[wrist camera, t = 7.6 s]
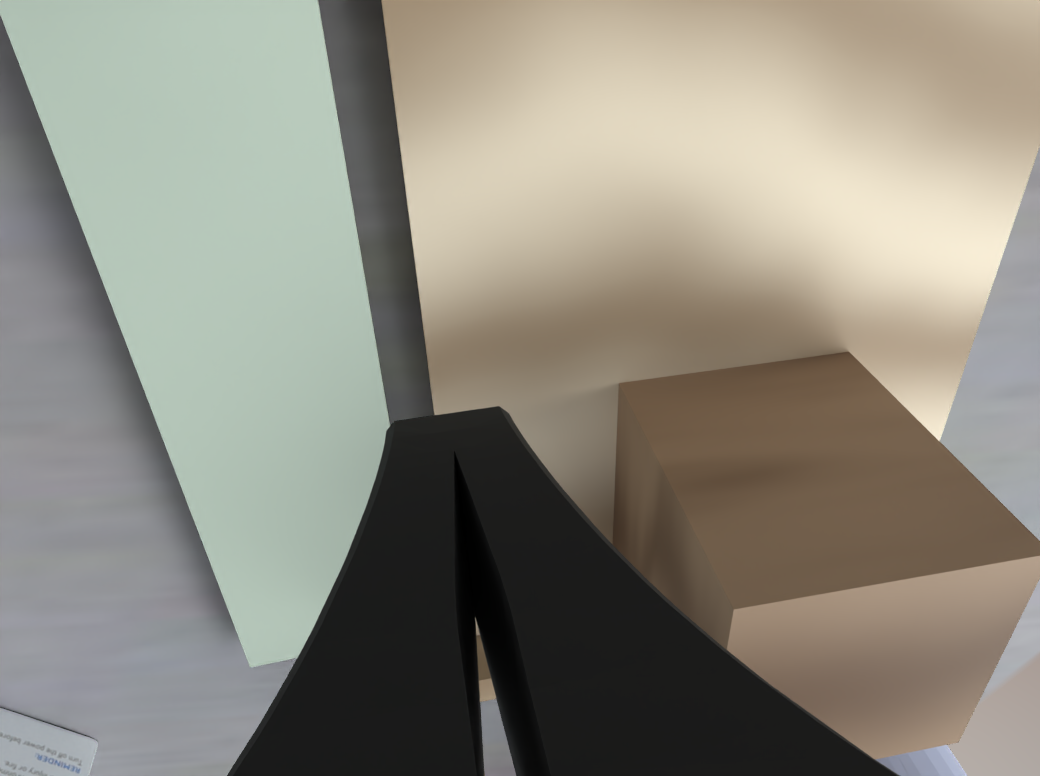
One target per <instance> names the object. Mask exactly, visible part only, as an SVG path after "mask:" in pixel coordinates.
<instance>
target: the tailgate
mask: <svg viewBox="0 0 1040 776" xmlns="http://www.w3.org/2000/svg"><path fill="white" fill-rule="evenodd" d="M0 15H1V18H2V21H3V23H4V26H5V28H6V31H7V34H8V36H9V39H10V41H11V44H12V47H13V49H14V52H15V55H16V57H17V60H18V62H19V65H20V68H21V70H22V73H23V75H24V78H25V81H26V83H27V86H28V88H29V91H30V94H31V96H32V99H33V102H34V104H35V107H36V109H37V112H38V115H39V117H40V120H41V122H42V125H43V128H44V130H45V133H46V136H47V138H48V141H49V143H50V146H51V149H52V151H53V154H54V156H55V159H56V162H57V164H58V167H59V169H60V172H61V175H62V177H63V180H64V183H65V185H66V188H67V190H68V193H69V196H70V198H71V201H72V203H73V206H74V209H75V211H76V214H77V216H78V219H79V222H80V224H81V227H82V230H83V232H84V235H85V237H86V240H87V243H88V245H89V248H90V250H91V253H92V256H93V258H94V261H95V264H96V266H97V269H98V271H99V274H100V277H101V279H102V282H103V284H104V287H105V290H106V292H107V295H108V297H109V300H110V303H111V305H112V308H113V311H114V313H115V316H116V318H117V321H118V324H119V326H120V329H121V331H122V334H123V337H124V339H125V342H126V345H127V347H128V350H129V352H130V355H131V358H132V360H133V363H134V365H135V368H136V371H137V373H138V376H139V378H140V381H141V384H142V386H143V389H144V392H145V394H146V397H147V399H148V402H149V405H150V407H151V410H152V412H153V415H154V418H155V420H156V423H157V425H158V428H159V431H160V433H161V436H162V439H163V441H164V444H165V446H166V449H167V452H168V454H169V457H170V459H171V462H172V465H173V467H174V470H175V473H176V475H177V478H178V480H179V483H180V486H181V488H182V491H183V493H184V496H185V499H186V501H187V504H188V506H189V509H190V512H191V514H192V517H193V520H194V522H195V525H196V527H197V530H198V533H199V535H200V538H201V540H202V543H203V546H204V548H205V551H206V553H207V556H208V559H209V561H210V564H211V567H212V569H213V572H214V574H215V577H216V580H217V582H218V585H219V587H220V590H221V593H222V595H223V598H224V601H225V603H226V606H227V608H228V611H229V614H230V616H231V619H232V621H233V624H234V627H235V629H236V632H237V634H238V637H239V640H240V642H241V645H242V648H243V650H244V653H245V655H246V658H247V661H248V663H249V666H250V667H255V666H260V665H265V664H270V663H275V662H280V661H285V660H289V659H294V658H298V656H299V654H300V652H301V650H302V649H303V647H304V645H305V643H306V641H307V639H308V637H309V635H310V633H311V631H312V629H313V627H314V625H315V623H316V621H317V619H318V617H319V615H320V613H321V610H322V608H323V606H324V604H325V602H326V600H327V598H328V596H329V594H330V591H331V589H332V587H333V585H334V583H335V581H336V579H337V577H338V574H339V572H340V570H341V568H342V566H343V563H344V561H345V559H346V556H347V554H348V552H349V549H350V546H351V544H352V541H353V539H354V536H355V534H356V531H357V529H358V526H359V523H360V521H361V518H362V516H363V513H364V511H365V508H366V505H367V503H368V499H369V496H370V493H371V490H372V487H373V484H374V481H375V478H376V475H377V471H378V468H379V464H380V461H381V457H382V452H383V448H384V443H385V437H386V430H387V429H388V428H389V427H390V421H389V415H388V410H387V404H386V398H385V392H384V386H383V380H382V374H381V368H380V362H379V356H378V351H377V345H376V339H375V333H374V327H373V321H372V315H371V309H370V303H369V297H368V292H367V286H366V280H365V274H364V268H363V262H362V256H361V250H360V244H359V238H358V233H357V227H356V221H355V215H354V209H353V203H352V197H351V191H350V185H349V179H348V174H347V168H346V162H345V156H344V150H343V144H342V138H341V132H340V126H339V121H338V115H337V109H336V103H335V97H334V91H333V85H332V79H331V73H330V67H329V62H328V56H327V50H326V44H325V38H324V32H323V26H322V20H321V14H320V8H319V3H318V0H0Z"/></svg>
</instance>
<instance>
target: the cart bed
mask: <svg viewBox="0 0 1040 776" xmlns="http://www.w3.org/2000/svg"><path fill="white" fill-rule="evenodd" d="M381 4H382V11H383V19H384V27H385V35H386V43H387V51H388V58H389V66H390V74H391V82H392V90H393V97H394V105H395V113H396V121H397V129H398V136H399V144H400V152H401V160H402V168H403V176H404V183H405V191H406V199H407V207H408V215H409V222H410V230H411V238H412V246H413V254H414V261H415V269H416V277H417V285H418V293H419V301H420V308H421V316H422V324H423V332H424V340H425V347H426V355H427V363H428V371H429V379H430V386H431V394H432V402H433V410H434V415H440V414H447V413H454V412H461V411H468V410H475V409H482V408H489V407H496V406H500V407H501V408H503V409H504V410H505V411H507V412H508V413H509V414H510V416H511V418H512V420H513V421H514V423H515V424H516V426H517V428H518V429H519V431H520V432H521V434H522V435H523V437H524V438H525V440H526V441H527V443H528V444H529V445H530V447H531V448H532V450H533V451H534V452H535V454H536V455H537V456H538V458H539V459H540V460H541V462H542V463H543V464H544V466H545V467H546V468H547V470H548V471H549V472H550V473H551V475H552V476H553V477H554V478H555V480H556V481H557V482H558V483H559V485H560V486H561V487H562V488H563V490H564V491H565V492H566V493H567V494H568V495H569V496H570V498H571V499H572V500H573V501H574V502H575V503H576V505H577V506H578V507H579V508H580V509H581V510H582V511H583V513H584V514H585V515H586V516H587V517H588V518H589V519H590V521H591V522H592V523H593V524H594V525H595V526H596V527H597V528H598V530H599V531H600V532H601V533H602V534H603V535H604V536H605V537H606V538H607V539H608V540H609V541H610V542H611V543H612V544H613V519H614V493H615V467H616V441H617V415H618V389H619V383H623V382H631V381H638V380H645V379H653V378H660V377H667V376H675V375H682V374H689V373H697V372H704V371H711V370H719V369H726V368H733V367H741V366H748V365H755V364H763V363H770V362H777V361H785V360H792V359H799V358H807V357H814V356H821V355H829V354H836V353H843V352H850V353H851V354H852V355H853V356H854V357H855V358H856V359H857V360H858V361H859V362H860V363H861V364H862V365H863V366H864V367H865V368H866V369H867V370H868V371H869V372H870V373H871V374H872V375H873V376H874V377H875V378H876V379H877V380H878V381H879V382H880V383H881V384H882V385H883V386H884V387H885V388H886V389H887V390H888V391H889V392H890V393H891V394H892V395H893V396H894V397H895V398H896V399H897V400H898V401H899V402H900V403H901V404H902V405H903V406H904V407H905V408H906V409H907V410H908V411H909V412H910V413H911V414H912V415H913V416H914V417H915V418H916V419H917V420H918V421H919V422H920V423H921V424H922V425H923V426H924V427H925V428H926V429H927V430H928V431H929V432H930V433H931V434H932V435H933V436H934V437H935V438H936V439H937V440H938V441H939V442H940V439H941V436H942V433H943V430H944V427H945V424H946V421H947V418H948V415H949V412H950V409H951V406H952V403H953V400H954V397H955V394H956V391H957V388H958V385H959V383H960V380H961V377H962V374H963V371H964V368H965V365H966V362H967V359H968V356H969V353H970V350H971V347H972V344H973V341H974V338H975V335H976V332H977V329H978V326H979V323H980V321H981V318H982V315H983V312H984V309H985V306H986V303H987V300H988V297H989V294H990V291H991V288H992V285H993V282H994V279H995V276H996V273H997V270H998V267H999V264H1000V262H1001V259H1002V256H1003V253H1004V250H1005V247H1006V244H1007V241H1008V238H1009V235H1010V232H1011V229H1012V226H1013V223H1014V220H1015V217H1016V214H1017V211H1018V208H1019V205H1020V203H1021V200H1022V197H1023V194H1024V191H1025V188H1026V185H1027V182H1028V179H1029V176H1030V173H1031V170H1032V167H1033V164H1034V161H1035V158H1036V155H1037V152H1038V149H1039V146H1040V0H381ZM475 621H476V618H475ZM476 638H477V655H478V673H479V691H480V702H482V701H488V700H493V699H496V695H495V691H494V687H493V683H492V680H491V676H490V672H489V668H488V664H487V660H486V656H485V653H484V649H483V645H482V641H481V637H480V633H479V629H478V625H477V622H476ZM484 776H485V773H484Z"/></svg>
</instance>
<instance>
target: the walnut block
mask: <svg viewBox="0 0 1040 776" xmlns="http://www.w3.org/2000/svg"><path fill="white" fill-rule="evenodd" d="M613 546H614V547H615V548H616V549H617V550H618V551H619V552H620V553H621V554H622V555H623V556H624V557H625V558H626V559H627V560H628V561H629V562H630V563H631V564H632V565H633V566H634V567H635V568H636V569H637V570H638V571H639V572H640V573H641V574H642V575H643V576H644V577H645V578H646V579H647V580H648V581H649V582H650V583H652V584H653V585H654V586H655V587H656V588H657V589H658V590H659V591H660V592H661V593H662V594H663V595H664V596H665V597H666V598H667V599H669V600H670V601H671V602H672V603H673V604H674V605H675V606H676V607H677V608H678V609H680V610H681V611H682V612H683V613H684V614H685V615H686V616H688V617H689V618H690V619H691V620H692V621H693V622H694V623H696V624H697V625H698V626H699V627H700V628H701V629H703V630H704V631H705V632H706V633H707V634H708V635H710V636H711V637H712V638H713V639H714V640H715V641H717V642H718V643H719V644H720V645H721V646H723V647H724V648H725V649H726V650H728V651H729V652H730V653H731V654H733V655H734V656H735V657H736V658H738V659H739V660H740V661H741V662H743V663H744V664H745V665H746V666H748V667H749V668H750V669H751V670H753V671H754V672H755V673H756V674H758V675H759V676H760V677H761V678H763V679H764V680H765V681H766V682H768V683H769V684H770V685H772V686H773V687H774V688H776V689H777V690H779V691H780V692H781V693H783V694H784V695H786V696H787V697H788V698H790V699H791V700H792V701H794V702H795V703H797V704H798V705H799V706H801V707H802V708H804V709H805V710H806V711H808V712H809V713H811V714H812V715H813V716H815V717H816V718H818V719H819V720H820V721H822V722H823V723H825V724H826V725H827V726H829V727H830V728H832V729H833V730H834V731H836V732H837V733H839V734H840V735H841V736H843V737H844V738H846V739H847V740H848V741H850V742H851V743H853V744H854V745H855V746H857V747H858V748H860V749H861V750H862V751H864V752H865V753H866V754H868V755H869V756H871V757H872V758H873V759H880V758H885V757H890V756H895V755H900V754H904V753H909V752H914V751H919V750H924V749H929V748H934V747H938V746H943V745H948V744H953V743H958V742H959V740H960V738H961V736H962V734H963V732H964V730H965V728H966V726H967V724H968V722H969V720H970V718H971V716H972V714H973V712H974V710H975V708H976V706H977V704H978V702H979V700H980V698H981V696H982V694H983V692H984V690H985V688H986V686H987V684H988V682H989V680H990V678H991V676H992V674H993V672H994V670H995V668H996V666H997V664H998V662H999V660H1000V658H1001V656H1002V654H1003V652H1004V650H1005V648H1006V646H1007V644H1008V642H1009V640H1010V638H1011V636H1012V633H1013V631H1014V629H1015V627H1016V625H1017V623H1018V621H1019V619H1020V617H1021V615H1022V613H1023V611H1024V609H1025V607H1026V605H1027V603H1028V601H1029V599H1030V597H1031V595H1032V593H1033V591H1034V589H1035V587H1036V585H1037V583H1038V581H1039V579H1040V541H1039V540H1038V539H1037V538H1036V537H1035V536H1034V535H1033V534H1032V533H1031V532H1030V531H1029V530H1028V529H1027V528H1026V527H1025V526H1024V525H1023V524H1022V523H1021V522H1020V521H1019V520H1018V519H1017V518H1016V517H1015V516H1014V515H1013V514H1012V513H1011V512H1010V511H1009V510H1008V509H1007V508H1006V507H1005V506H1004V505H1003V504H1002V503H1001V502H1000V501H999V500H998V499H997V498H996V497H995V496H994V495H993V494H992V493H991V492H990V491H989V490H988V489H987V488H986V487H985V486H984V485H983V484H982V483H981V482H980V481H979V480H978V479H977V478H976V477H975V476H974V475H973V474H972V473H971V472H970V471H969V470H968V469H967V468H966V467H965V466H964V465H963V464H962V463H961V462H960V461H959V460H958V459H957V458H956V457H955V456H954V455H953V454H952V453H951V452H950V451H949V450H948V449H947V448H946V447H945V446H944V445H943V444H942V443H941V442H939V441H938V440H937V439H936V438H935V437H934V436H933V435H932V434H931V433H930V432H929V431H928V430H927V429H926V428H925V427H924V426H923V425H922V424H921V423H920V422H919V421H918V420H917V419H916V418H915V417H914V416H913V415H912V414H911V413H910V412H909V411H908V410H907V409H906V408H905V407H904V406H903V405H902V404H901V403H900V402H899V401H898V400H897V399H896V398H895V397H894V396H893V395H892V394H891V393H890V392H889V391H888V390H887V389H886V388H885V387H884V386H883V385H882V384H881V383H880V382H879V381H878V380H877V379H876V378H875V377H874V376H873V375H872V374H871V373H870V372H869V371H868V370H867V369H866V368H865V367H864V366H863V365H862V364H861V363H860V362H859V361H858V360H857V359H856V358H855V357H854V356H853V355H852V354H851V353H850V352H843V353H836V354H829V355H821V356H814V357H807V358H799V359H792V360H785V361H777V362H770V363H763V364H755V365H748V366H741V367H733V368H726V369H719V370H711V371H704V372H697V373H689V374H682V375H675V376H667V377H660V378H653V379H645V380H638V381H631V382H623V383H619V389H618V415H617V441H616V467H615V493H614V519H613Z"/></svg>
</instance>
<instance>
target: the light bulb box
mask: <svg viewBox="0 0 1040 776" xmlns="http://www.w3.org/2000/svg"><path fill="white" fill-rule="evenodd" d="M97 747H98V742H97V741H96V740H94V739H92V738H90V737H87V736H84V735H81V734H77V733H74V732H71V731H69V730H66V729H63V728H60V727H57V726H54V725H51V724H48V723H45V722H42V721H39V720H36V719H33V718H30V717H27V716H24V715H21V714H18V713H15V712H12V711H9V710H6V709H3V708H0V776H89V774H90V770H91V767H92V764H93V760H94V757H95V754H96V750H97Z"/></svg>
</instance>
